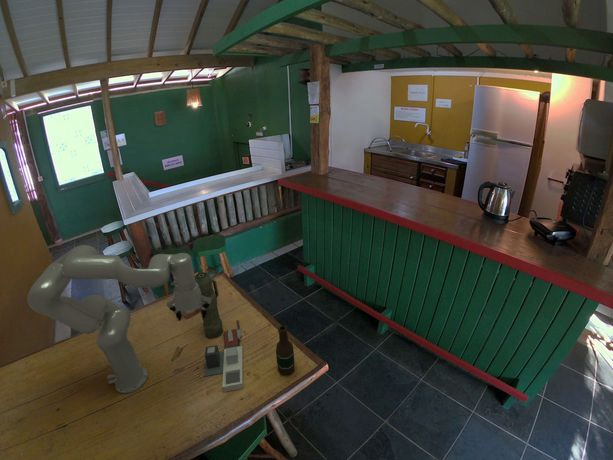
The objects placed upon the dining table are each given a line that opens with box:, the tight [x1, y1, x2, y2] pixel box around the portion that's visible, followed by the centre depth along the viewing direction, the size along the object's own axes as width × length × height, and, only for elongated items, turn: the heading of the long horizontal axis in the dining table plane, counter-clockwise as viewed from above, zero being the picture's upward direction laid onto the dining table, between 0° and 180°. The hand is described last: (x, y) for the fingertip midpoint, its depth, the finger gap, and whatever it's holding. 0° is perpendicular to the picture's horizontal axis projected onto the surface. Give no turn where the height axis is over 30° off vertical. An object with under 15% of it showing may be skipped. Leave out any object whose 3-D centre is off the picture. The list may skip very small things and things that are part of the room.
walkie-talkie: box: [222, 319, 243, 349], centre depth 154 cm, size 9×4×20 cm
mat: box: [203, 350, 224, 378], centre depth 141 cm, size 8×12×1 cm, turn 11°
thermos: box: [195, 271, 224, 340], centre depth 150 cm, size 9×12×35 cm
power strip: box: [221, 345, 244, 393], centre depth 136 cm, size 8×20×8 cm, turn 11°
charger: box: [204, 345, 220, 369], centre depth 139 cm, size 5×5×8 cm
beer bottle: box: [275, 325, 296, 376], centre depth 132 cm, size 8×8×24 cm
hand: (192, 317), depth 130 cm, fingers open, 9 cm apart
